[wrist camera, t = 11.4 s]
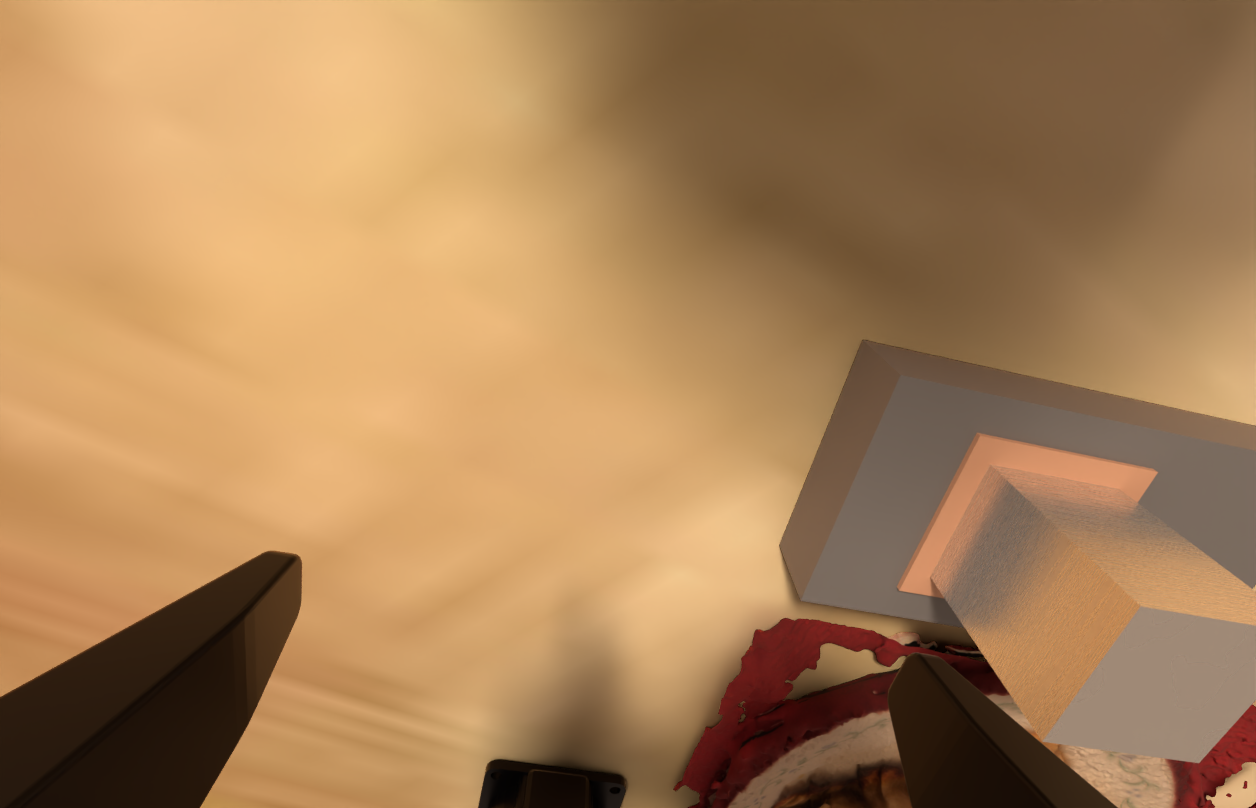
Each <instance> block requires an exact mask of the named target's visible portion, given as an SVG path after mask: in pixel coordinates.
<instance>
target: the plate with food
mask: <svg viewBox="0 0 1256 808" xmlns="http://www.w3.org/2000/svg"><path fill="white" fill-rule="evenodd" d="M825 643H833V644H837V645H840V646H843V647H845V648H847V649H851V650H853V651H856V652H858V651H861V650H863V649H869V650H872V651H874V652H875V653H876V657H877V661H878V662H879V663H881V664H883V665H885V666H887V667H890V666H892V664H893V663H894V662H896V660H897V659H898V658H899V657H901V656H908V655H910V654H911V653H923V654H929V655H935V656H938V657H940V658H942V659H943V660H944V661H945V662H946V663H948V664H949V665H950V666H951V667H952V668H954V669H955V670H956V671H957V672H958V673H959V674H961V675H962V676H963V677H964V678H965V679H967V680H968V681H969V682H970V683H971V684H972V685H974V686H975V687H976V688H977V689H978V690H980V691H981V692H982V693H983V694H984V695H985V696H987V697H988V698H989V699H990V700H991V701H993V702H994V703H995V704H996V705H997V706H998V707H1000V708H1001V709H1002V710H1003V711H1004V712H1005V713H1007V714H1008V715H1009V716H1010V717H1011V718H1013V719H1014V720H1015V721H1016V722H1017V723H1018V724H1020V725H1021V726H1022V727H1023V728H1024V729H1026V730H1027V731H1028V732H1029V733H1030V734H1031V735H1033V736H1034V737H1035V738H1036V739H1037V740H1039V741H1040V742H1041V743H1042V744H1043V745H1044V746H1046V747H1047V748H1048V749H1049V750H1050V751H1052V752H1053V753H1054V754H1055V755H1056V756H1057V757H1059V758H1060V759H1061V760H1062V761H1063V762H1065V763H1066V764H1067V765H1068V766H1069V767H1070V768H1072V769H1073V770H1074V771H1075V772H1076V773H1078V774H1079V775H1080V776H1081V777H1082V778H1083V779H1085V780H1086V781H1087V782H1088V783H1089V784H1091V785H1092V786H1093V787H1094V788H1095V789H1096V790H1098V791H1099V792H1100V793H1101V794H1102V795H1104V796H1105V797H1106V798H1107V799H1108V800H1109V801H1111V802H1112V803H1113V804H1114V805H1115V806H1117V807H1118V808H1215V806H1214V805H1213V804H1212V801H1211V800H1208V801H1207V799H1206V795H1209V796H1211V797H1215V795H1216V787H1218V786H1223V785H1224V783H1225V778H1227V777H1230V776H1231V775H1232V774H1236V773H1238V772H1239V771H1241V770H1242V767H1241V765H1242V764H1243V763H1245V762H1255V763H1256V707H1255V706H1254V705H1251V706H1250V707H1249V708H1248V709H1247V710H1246V711H1245V713H1244V714H1243V715H1242V716H1241V717H1240V718H1239V719H1238V720H1237V722H1236V723H1235V724H1234V725H1233V726H1232V727H1231V728H1230V729H1229V730H1228V732H1227V733H1226V734H1225V735H1224V736H1223V737H1222V738H1221V739H1220V740H1219V742H1218V743H1217V744H1216V745H1215V746H1214V747H1213V748H1212V749H1211V750H1210V752H1209V753H1208V754H1207V755H1206V756H1205V757H1204V758H1203V759H1202V760H1201V762H1200V763H1194V762H1186V761H1179V760H1172V759H1165V758H1157V757H1150V756H1143V755H1135V754H1128V753H1121V752H1114V751H1106V750H1099V749H1092V748H1084V747H1077V746H1070V745H1063V744H1055V743H1048V742H1042V741H1041V739H1040V738H1039V736H1038V735H1037V733H1036V732H1035V730H1034V729H1033V727H1032V726H1031V725H1030V723H1029V722H1028V720H1027V719H1026V717H1025V716H1024V714H1023V713H1022V711H1021V710H1020V708H1019V707H1018V705H1017V704H1016V702H1015V701H1014V700H1013V698H1012V697H1011V695H1010V694H1009V692H1008V691H1007V689H1006V688H1005V686H1004V685H1003V683H1002V682H1001V680H1000V679H999V677H998V676H997V675H996V673H995V672H994V670H993V669H992V667H991V666H990V664H989V663H988V662H981V661H978V660H973V659H970V658H968V657H984V655H983V654H982V652H981V651H980V650H979V649H974V648H972V647H971V648H966V647H962V646H960V645H957V646H955V645H949V646H945V648H946V649H947V650H948V651H947V652H945V653H940V652H937V651H935V649H936V648H937V647H938V646H937V644H936V642H934V641H932V642H931V643H928V644H924V643H922V642H921V641H920V639H919V635H918V634H917V633H911V632H899V633H896V634H895V635H893V636H891V637H888V638H887V637H885V636H883V635H881V634H878V633H876V632H875V631H872V630H865V629H861V628H855V627H847V626H845V625H837V624H831V623H828V622H822V621H820V620H813V619H812V620H809V619H797V620H796V621H794V620H791V619H788V618H784V619H782V620H781V621H780V622H779V624H777V625H776V626H774V627H773V628H771V629H770V630H767V631H762V630H758V629H757V630H756V631H755V633H754V638H753V645H752V646H750V648H749V650H748V651H747V652H746V654H745V656H743V657H742V658H741V660H742V668H741V671H740V674H739V675H738V676H737V677H736V678H735V679H734V680H733V681H732V682H731V683H729V685H728V687H727V690H726V693H725V695H724V697H723V698H722V700H721V705H720V709H719V713H718V714H720V715H723V717H722V720H721V721H720V723H718V724H717V725H716V726H715V727H713V728H708V727H706V728H705V732H704V734H703V736H702V737H701V740H700V742H699V743H698V746H697V747H696V748H695V751H694V753H693V756H692V758H691V760H690V762H689V766H687V768H686V771H685V773H684V776H683V780H682V781H680V782H679V783H678V784H677V785H676V787H675V788H674V789H673V790H675V791H676V790H678V789H679V788H680V787H682V786H684V785H686V786H688V787H689V788H690V789H691V790H694V791H696V792H698V793H699V794H700V797H699V800H700V802H699V803H698V804H696V805H694V806H690V807H688V808H912V806H911V802H910V798H909V794H908V791H907V786H906V782H905V778H904V773H903V769H902V765H901V760H900V756H899V752H898V747H897V743H896V739H895V734H894V730H893V726H892V721H891V717H890V713H889V708H888V699H887V698H888V691H889V688H890V686H891V684H892V682H893V681H894V679H895V677H896V675H897V673H898V672H899V670H896V671H890V672H883V673H876V674H869V675H866V676H864V677H861V678H858V679H855V680H852V681H849V682H846V683H842V684H839V685H836V686H832V687H829V688H827V689H824V690H821V691H816V692H812V693H810V694H808V695H805V696H803V697H801V698H799V699H787V700H785V701H782V700H783V699H785V698H786V696H787V695H788V694H789V693H790V692H791V691H792V689H793V684H791V683H789V682H787V683H786V682H785V681H786V680H790V681H793V680H795V679H796V678H797V677H798V676H799V675H800V673H801V672H802V671H804V670H805V669H806V668H810V669H813V670H815V669H816V668H817V660H819V658H820V647H821V646H822V645H823V644H825ZM743 701H745V703H743V705H742V707H744V708H745V712H744V708H742V707H740V706H738V704H739V703H741V702H743ZM743 713H744V714H745V715H746V717H745V719H744V721H742V722H739V719H741V718H740V717H741V714H743ZM1201 774H1202V775H1201ZM1243 788H1244V789H1246V788H1247V781H1245V782H1244V787H1243ZM1226 796H1228V797H1231V796H1232V795H1231V794H1229V793H1228V794H1227V795H1226ZM1249 808H1256V803H1255V804H1254V805H1252V806H1251V807H1249Z"/></svg>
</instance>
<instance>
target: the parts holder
mask: <svg viewBox="0 0 1256 808" xmlns="http://www.w3.org/2000/svg"><path fill="white" fill-rule="evenodd" d="M990 464H991V465H996V466H1001V467H1006V468H1012V469H1017V470H1022V471H1027V472H1033V473H1038V474H1043V475H1048V476H1054V477H1059V478H1064V479H1069V480H1075V481H1080V482H1085V483H1090V484H1096V485H1101V486H1106V487H1111V488H1117V489H1120V490H1121V491H1123V492H1124V493H1125V494H1127V495H1128V496H1129V497H1131V498H1132V499H1133V500H1135V501H1136V502H1137V503H1138V504H1140V505H1141V506H1142V507H1144V508H1145V509H1146V510H1148V511H1149V512H1150V513H1152V514H1153V515H1154V516H1156V517H1157V518H1158V519H1160V520H1161V521H1162V522H1164V523H1165V524H1166V525H1168V526H1169V527H1170V528H1172V529H1173V530H1174V531H1176V532H1177V533H1178V534H1180V535H1181V536H1182V537H1184V538H1185V539H1186V540H1188V541H1189V542H1190V543H1192V544H1193V545H1194V546H1196V547H1197V548H1198V549H1200V550H1201V551H1202V552H1204V553H1205V554H1206V555H1208V556H1209V557H1210V558H1212V559H1213V560H1214V561H1216V562H1217V563H1218V564H1220V565H1221V566H1222V567H1224V568H1225V569H1226V570H1228V571H1229V572H1230V573H1232V574H1233V575H1234V576H1236V577H1237V578H1238V579H1240V580H1241V581H1242V582H1244V583H1245V584H1246V585H1248V586H1249V587H1250V588H1252V589H1253V587H1254V586H1255V585H1256V426H1253V425H1249V424H1244V423H1240V422H1235V421H1230V420H1226V419H1221V418H1217V417H1212V416H1208V415H1203V414H1199V413H1194V412H1189V411H1185V410H1180V409H1176V408H1171V407H1167V406H1162V405H1157V404H1153V403H1148V402H1144V401H1139V400H1135V399H1130V398H1126V397H1121V396H1116V395H1112V394H1107V393H1103V392H1098V391H1094V390H1089V389H1084V388H1080V387H1075V386H1071V385H1066V384H1062V383H1057V382H1053V381H1048V380H1043V379H1039V378H1034V377H1030V376H1025V375H1021V374H1016V373H1011V372H1007V371H1002V370H998V369H993V368H989V367H984V366H980V365H975V364H970V363H966V362H961V361H957V360H952V359H948V358H943V357H938V356H934V355H929V354H925V353H920V352H916V351H911V350H907V349H902V348H897V347H893V346H888V345H884V344H879V343H875V342H870V341H865V340H862V343H861V345H860V348H859V350H858V353H857V355H856V358H855V360H854V362H853V365H852V367H851V370H850V372H849V375H848V377H847V380H846V382H845V385H844V387H843V390H842V392H841V394H840V397H839V399H838V402H837V404H836V407H835V409H834V412H833V414H832V417H831V419H830V422H829V424H828V426H827V429H826V431H825V434H824V436H823V439H822V441H821V444H820V446H819V449H818V451H817V454H816V456H815V459H814V461H813V463H812V466H811V468H810V471H809V473H808V476H807V478H806V481H805V483H804V486H803V488H802V491H801V493H800V495H799V498H798V500H797V503H796V505H795V508H794V510H793V513H792V515H791V518H790V520H789V523H788V525H787V527H786V530H785V532H784V535H783V537H782V540H781V542H780V545H779V546H780V549H781V551H782V554H783V557H784V559H785V562H786V564H787V567H788V570H789V572H790V575H791V577H792V580H793V583H794V585H795V588H796V590H797V593H798V596H799V598H800V601H805V602H811V603H817V604H823V605H829V606H835V607H841V608H847V609H853V610H859V611H865V612H871V613H877V614H883V615H889V616H895V617H901V618H908V619H914V620H920V621H926V622H932V623H938V624H944V625H950V626H956V627H962V628H965V627H964V626H963V625H962V623H961V622H960V620H959V619H958V617H957V616H956V614H955V613H954V611H953V610H952V608H951V607H950V605H949V604H948V602H947V601H946V600H945V598H944V597H943V595H942V594H941V592H940V591H939V589H938V588H937V586H936V585H935V583H934V582H933V580H932V579H931V577H930V576H931V574H932V572H933V571H934V569H935V567H936V565H937V563H938V561H939V559H940V557H941V556H942V554H943V552H944V550H945V548H946V546H947V544H948V542H949V541H950V539H951V537H952V535H953V533H954V531H955V529H956V527H957V526H958V524H959V522H960V520H961V518H962V516H963V514H964V512H965V510H966V509H967V507H968V505H969V503H970V501H971V499H972V497H973V495H974V494H975V492H976V490H977V488H978V486H979V484H980V482H981V480H982V479H983V477H984V475H985V473H986V471H987V469H988V467H989V465H990Z"/></svg>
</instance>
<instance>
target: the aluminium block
mask: <svg viewBox="0 0 1256 808" xmlns="http://www.w3.org/2000/svg"><path fill="white" fill-rule="evenodd" d="M930 577H931V579H932V580H933V582H934V583H935V585H936V586H937V588H938V589H939V591H940V592H941V594H942V595H943V597H944V598H945V600H946V601H947V602H948V604H949V605H950V607H951V608H952V610H953V611H954V613H955V614H956V616H957V617H958V619H959V620H960V622H961V623H962V625H963V626H964V627H965V629H966V630H967V632H968V633H969V635H970V636H971V638H972V639H973V641H974V642H975V644H976V645H977V647H978V648H979V650H980V651H981V652H982V654H983V655H984V657H985V658H986V660H987V661H988V663H989V664H990V666H991V667H992V669H993V670H994V672H995V673H996V675H997V676H998V677H999V679H1000V680H1001V682H1002V683H1003V685H1004V686H1005V688H1006V689H1007V691H1008V692H1009V694H1010V695H1011V697H1012V698H1013V700H1014V701H1015V702H1016V704H1017V705H1018V707H1019V708H1020V710H1021V711H1022V713H1023V714H1024V716H1025V717H1026V719H1027V720H1028V722H1029V723H1030V725H1031V726H1032V727H1033V729H1034V730H1035V732H1036V733H1037V735H1038V736H1039V738H1040V739H1041V741H1042V742H1048V743H1055V744H1063V745H1070V746H1077V747H1084V748H1092V749H1099V750H1106V751H1114V752H1121V753H1128V754H1135V755H1143V756H1150V757H1157V758H1165V759H1172V760H1179V761H1186V762H1194V763H1200V762H1201V760H1202V759H1203V758H1204V757H1205V756H1206V755H1207V754H1208V753H1209V752H1210V750H1211V749H1212V748H1213V747H1214V746H1215V745H1216V744H1217V743H1218V742H1219V740H1220V739H1221V738H1222V737H1223V736H1224V735H1225V734H1226V733H1227V732H1228V730H1229V729H1230V728H1231V727H1232V726H1233V725H1234V724H1235V723H1236V722H1237V720H1238V719H1239V718H1240V717H1241V716H1242V715H1243V714H1244V713H1245V711H1246V710H1247V709H1248V708H1249V707H1250V706H1251V705H1252V704H1253V703H1254V701H1255V700H1256V591H1254V590H1253V589H1252V588H1250V587H1249V586H1248V585H1246V584H1245V583H1244V582H1242V581H1241V580H1240V579H1238V578H1237V577H1236V576H1234V575H1233V574H1232V573H1230V572H1229V571H1228V570H1226V569H1225V568H1224V567H1222V566H1221V565H1220V564H1218V563H1217V562H1216V561H1214V560H1213V559H1212V558H1210V557H1209V556H1208V555H1206V554H1205V553H1204V552H1202V551H1201V550H1200V549H1198V548H1197V547H1196V546H1194V545H1193V544H1192V543H1190V542H1189V541H1188V540H1186V539H1185V538H1184V537H1182V536H1181V535H1180V534H1178V533H1177V532H1176V531H1174V530H1173V529H1172V528H1170V527H1169V526H1168V525H1166V524H1165V523H1164V522H1162V521H1161V520H1160V519H1158V518H1157V517H1156V516H1154V515H1153V514H1152V513H1150V512H1149V511H1148V510H1146V509H1145V508H1144V507H1142V506H1141V505H1140V504H1138V503H1137V502H1136V501H1135V500H1133V499H1132V498H1131V497H1129V496H1128V495H1127V494H1125V493H1124V492H1123V491H1121V490H1120V489H1117V488H1111V487H1106V486H1101V485H1096V484H1090V483H1085V482H1080V481H1075V480H1069V479H1064V478H1059V477H1054V476H1048V475H1043V474H1038V473H1033V472H1027V471H1022V470H1017V469H1012V468H1006V467H1001V466H996V465H991V464H990V465H989V467H988V469H987V471H986V473H985V475H984V477H983V479H982V480H981V482H980V484H979V486H978V488H977V490H976V492H975V494H974V495H973V497H972V499H971V501H970V503H969V505H968V507H967V509H966V510H965V512H964V514H963V516H962V518H961V520H960V522H959V524H958V526H957V527H956V529H955V531H954V533H953V535H952V537H951V539H950V541H949V542H948V544H947V546H946V548H945V550H944V552H943V554H942V556H941V557H940V559H939V561H938V563H937V565H936V567H935V569H934V571H933V572H932V574H931V576H930Z"/></svg>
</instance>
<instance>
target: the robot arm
mask: <svg viewBox="0 0 1256 808" xmlns="http://www.w3.org/2000/svg"><path fill="white" fill-rule="evenodd" d="M301 594H302V561H301V558H300V557H299V556H298V555H296V554H292V553H285V552H279V551H267V552H264V553H262V554H260V555H258V556H257V557H255V558H253V559H251V560H249V561H248V562H246V563H244V564H242V565H240V566H238V567H237V568H235V569H233V570H231V571H229V572H227V573H226V574H224V575H222V576H220V577H218V578H217V579H215V580H213V581H211V582H209V583H207V584H206V585H204V586H202V587H200V588H198V589H196V590H195V591H193V592H191V593H189V594H187V595H186V596H184V597H182V598H180V599H178V600H176V601H175V602H173V603H171V604H169V605H167V606H165V607H164V608H162V609H160V610H158V611H156V612H155V613H153V614H151V615H149V616H147V617H145V618H144V619H142V620H140V621H138V622H136V623H134V624H133V625H131V626H129V627H127V628H125V629H123V630H122V631H120V632H118V633H116V634H114V635H113V636H111V637H109V638H107V639H105V640H103V641H102V642H100V643H98V644H96V645H94V646H92V647H91V648H89V649H87V650H85V651H83V652H82V653H80V654H78V655H76V656H74V657H72V658H71V659H69V660H67V661H65V662H63V663H61V664H60V665H58V666H56V667H54V668H52V669H51V670H49V671H47V672H45V673H43V674H41V675H40V676H38V677H36V678H34V679H32V680H30V681H29V682H27V683H25V684H23V685H21V686H20V687H18V688H16V689H14V690H12V691H10V692H9V693H7V694H5V695H3V696H1V697H0V808H200V807H201V805H202V803H203V802H204V800H205V798H206V796H207V795H208V793H209V791H210V790H211V788H212V786H213V785H214V783H215V781H216V779H217V778H218V776H219V774H220V773H221V771H222V769H223V768H224V766H225V764H226V762H227V761H228V759H229V757H230V756H231V754H232V752H233V751H234V749H235V747H236V745H237V744H238V742H239V740H240V738H241V737H242V735H243V733H244V731H245V729H246V727H247V726H248V724H249V722H250V720H251V717H252V715H253V713H254V711H255V709H256V707H257V705H258V703H259V700H260V698H261V696H262V694H263V692H264V689H265V687H266V685H267V683H268V681H269V678H270V676H271V674H272V672H273V670H274V667H275V665H276V663H277V661H278V659H279V656H280V654H281V652H282V650H283V648H284V645H285V643H286V641H287V639H288V636H289V634H290V632H291V630H292V628H293V625H294V623H295V621H296V619H297V616H298V613H299V610H300V606H301ZM887 699H888V708H889V713H890V717H891V721H892V726H893V730H894V734H895V739H896V743H897V747H898V752H899V756H900V760H901V765H902V769H903V773H904V778H905V782H906V786H907V791H908V794H909V798H910V802H911V806H912V808H1118V807H1117V806H1115V805H1114V804H1113V803H1112V802H1111V801H1109V800H1108V799H1107V798H1106V797H1105V796H1104V795H1102V794H1101V793H1100V792H1099V791H1098V790H1096V789H1095V788H1094V787H1093V786H1092V785H1091V784H1089V783H1088V782H1087V781H1086V780H1085V779H1083V778H1082V777H1081V776H1080V775H1079V774H1078V773H1076V772H1075V771H1074V770H1073V769H1072V768H1070V767H1069V766H1068V765H1067V764H1066V763H1065V762H1063V761H1062V760H1061V759H1060V758H1059V757H1057V756H1056V755H1055V754H1054V753H1053V752H1052V751H1050V750H1049V749H1048V748H1047V747H1046V746H1044V745H1043V744H1042V743H1041V742H1040V741H1039V740H1037V739H1036V738H1035V737H1034V736H1033V735H1031V734H1030V733H1029V732H1028V731H1027V730H1026V729H1024V728H1023V727H1022V726H1021V725H1020V724H1018V723H1017V722H1016V721H1015V720H1014V719H1013V718H1011V717H1010V716H1009V715H1008V714H1007V713H1005V712H1004V711H1003V710H1002V709H1001V708H1000V707H998V706H997V705H996V704H995V703H994V702H993V701H991V700H990V699H989V698H988V697H987V696H985V695H984V694H983V693H982V692H981V691H980V690H978V689H977V688H976V687H975V686H974V685H972V684H971V683H970V682H969V681H968V680H967V679H965V678H964V677H963V676H962V675H961V674H959V673H958V672H957V671H956V670H955V669H954V668H952V667H951V666H950V665H949V664H948V663H946V662H945V661H944V660H943V659H942V658H940V657H938V656H935V655H929V654H923V653H911V654H910V655H908V656H907V658H906V659H905V661H904V663H903V664H902V666H901V668H900V670H899V672H898V673H897V675H896V677H895V679H894V681H893V682H892V684H891V686H890V688H889V691H888V698H887ZM625 791H626V784H625V779H624V778H623V777H621V776H618V775H612V774H604V773H596V772H588V771H580V770H572V769H564V768H556V767H548V766H540V765H533V764H525V763H517V762H509V761H501V760H494V761H491V762H489V763H488V764H487V767H486V772H485V777H484V782H483V786H482V791H481V796H480V801H479V806H478V808H620V806H621V803H622V800H623V797H624V795H625Z"/></svg>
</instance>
